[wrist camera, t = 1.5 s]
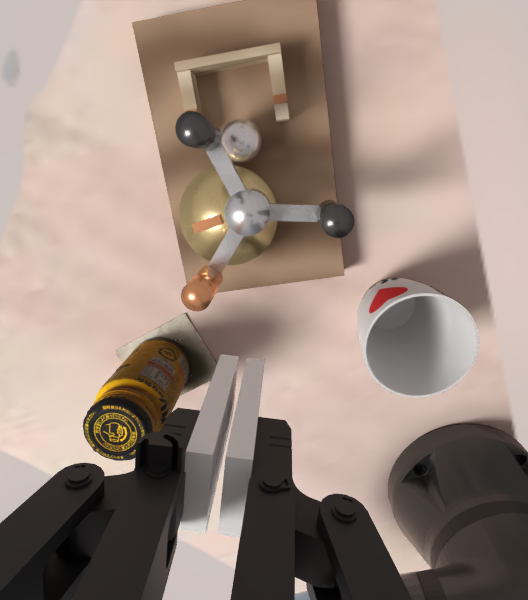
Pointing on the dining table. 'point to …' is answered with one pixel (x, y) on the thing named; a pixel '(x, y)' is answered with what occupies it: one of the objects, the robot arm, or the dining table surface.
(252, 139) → the ball
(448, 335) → the cup
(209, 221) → the capstan
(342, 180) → the dining table surface
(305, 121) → the stand
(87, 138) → the dining table surface
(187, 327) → the condiment
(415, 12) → the dining table surface
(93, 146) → the dining table surface
